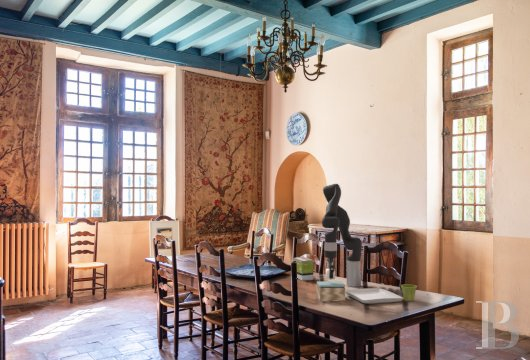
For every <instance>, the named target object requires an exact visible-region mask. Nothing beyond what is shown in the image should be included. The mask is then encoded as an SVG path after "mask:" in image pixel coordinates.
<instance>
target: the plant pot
mask: <svg viewBox="0 0 530 360" xmlns="http://www.w3.org/2000/svg"><path fill="white" fill-rule="evenodd" d="M400 287H401V290H402V297H403V298H404V299H403V300H402V301H405V302H414V301H415V297H416V290H417V288H418V285H415V284H405V283H404V284H400Z"/></svg>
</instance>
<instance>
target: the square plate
mask: <svg viewBox="0 0 530 360" xmlns="http://www.w3.org/2000/svg"><path fill="white" fill-rule="evenodd" d="M345 295H346V296H349V297H351V298H352V299H354V300H355V301H358V302H361V304H362V303H363V304H366V305H367V304H368V305H372V304H389V303H396V302H402V301H404V300H403V299H404V298H403V296H400V295H398V294H396V293H394V292H392V291H389V290H387V289H384V288H380V287H379V288H376V287H374V288H373V287H372V288H368V287H367V288H354V289H345Z"/></svg>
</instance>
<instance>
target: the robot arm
mask: <svg viewBox="0 0 530 360" xmlns="http://www.w3.org/2000/svg"><path fill="white" fill-rule="evenodd" d="M341 189H342V188H341V186H340V185H339V183H333V184H328V185H325V186H323V188H322V193H323V195H324V197H325V200H326V201H327V205H326V208H325V214H324V215H323V218H322V219H321V225H322V228H324V229H332V230H331V231H327V232H325V233H324V250H323V253H324V254H323V256H324V258H326V269H329V278H330V279H333V272H334V269H335V261H334V259H336V258H338V253H337V252H338V246H337V245H338V244H337V243H338V242H337V237H338V236H337V235H338V230H339V233H340V235H341V238H342V242H343V243H342V244H343V246H344V248H345V249H346V250H348V251H352V253H351V254H350V255H349V254H348V255H347V256H346V286H347V287H354V288H355V287H356V288H357V287H362V272H361V258H362V251H363V249H362V248H363V243H362V239H361V238H359V237H356V236H355V237H354V236H351V234H350V231H349V229H350V224H351V219H350V217H349V214H348V212H347V210H346V209H344V208H343V207H341V206H340V205H339V203H340V200H341V197H342V196H341V195H342V190H341ZM331 269H332V270H331ZM333 280H334V279H333Z"/></svg>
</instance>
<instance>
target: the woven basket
mask: <svg viewBox="0 0 530 360" xmlns="http://www.w3.org/2000/svg"><path fill="white" fill-rule="evenodd" d="M345 287H346V286H345ZM345 287H320V286H319V285H318V284H317V283H316V297H317V299H318V301H319V303H321V302H328V303H330V302H331V301H340V302H346V293H345V290H346V288H345Z"/></svg>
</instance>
